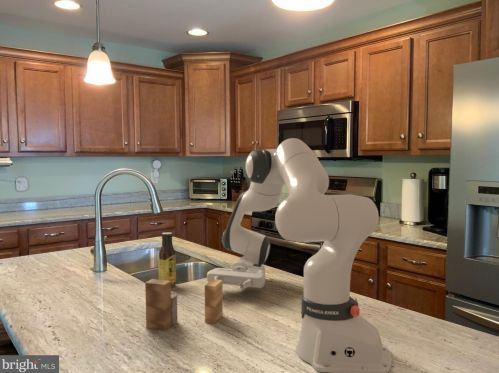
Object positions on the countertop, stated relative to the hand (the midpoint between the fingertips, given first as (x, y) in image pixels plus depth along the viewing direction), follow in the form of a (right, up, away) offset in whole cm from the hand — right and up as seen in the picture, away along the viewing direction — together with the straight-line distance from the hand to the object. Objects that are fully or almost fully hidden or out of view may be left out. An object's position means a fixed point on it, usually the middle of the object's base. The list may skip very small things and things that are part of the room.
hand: (228, 284), depth 130 cm
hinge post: (-19, -8, -16) cm, 26 cm away
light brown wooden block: (-4, -7, -12) cm, 14 cm away
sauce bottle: (-24, -5, +18) cm, 30 cm away
